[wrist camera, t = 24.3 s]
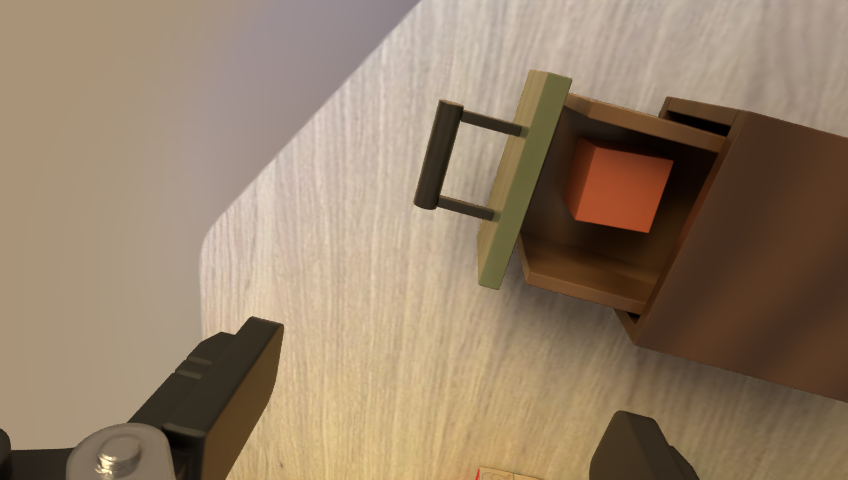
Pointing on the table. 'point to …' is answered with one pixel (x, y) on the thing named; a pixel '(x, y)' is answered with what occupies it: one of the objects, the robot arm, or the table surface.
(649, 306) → the cabinet
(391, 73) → the table surface
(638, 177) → the block
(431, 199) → the drawer
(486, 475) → the stack of blocks
